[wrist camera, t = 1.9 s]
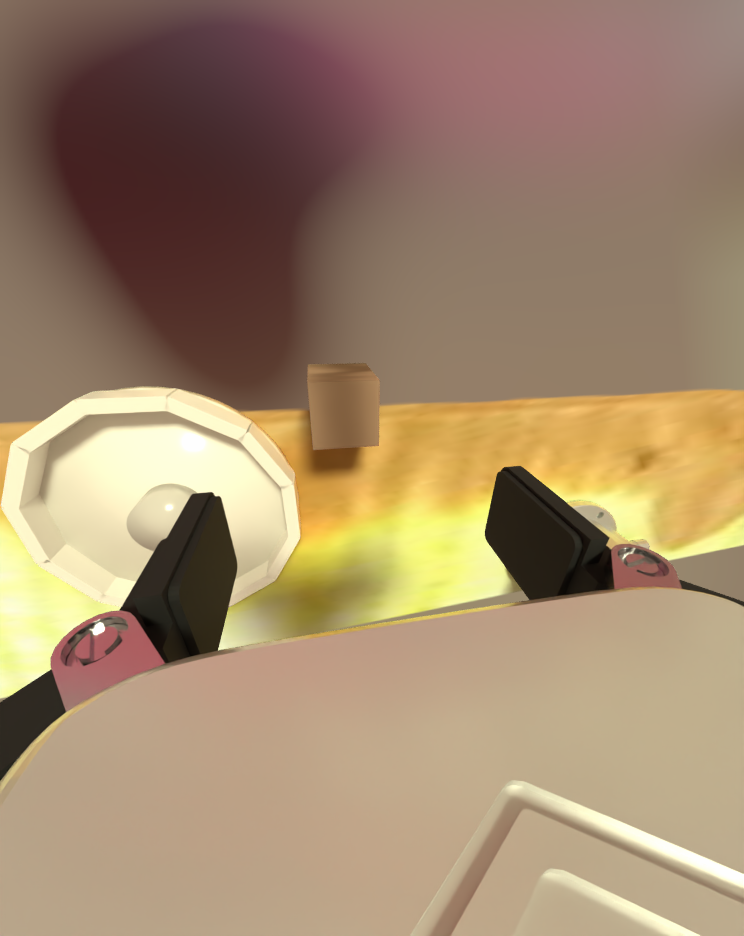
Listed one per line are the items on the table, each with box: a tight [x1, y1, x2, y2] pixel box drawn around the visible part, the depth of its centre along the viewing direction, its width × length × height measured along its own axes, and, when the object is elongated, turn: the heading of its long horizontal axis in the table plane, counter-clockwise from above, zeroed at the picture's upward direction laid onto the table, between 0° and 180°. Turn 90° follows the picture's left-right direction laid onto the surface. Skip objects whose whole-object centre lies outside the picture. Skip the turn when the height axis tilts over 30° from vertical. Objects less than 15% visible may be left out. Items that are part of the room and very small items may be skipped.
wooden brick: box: [307, 363, 380, 450], centre depth 24 cm, size 4×4×6 cm
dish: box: [1, 386, 301, 607], centre depth 27 cm, size 20×20×4 cm
